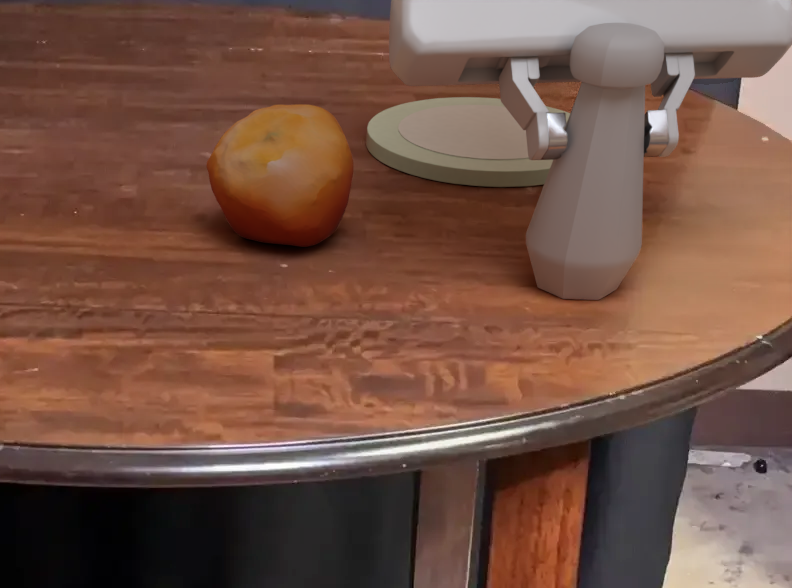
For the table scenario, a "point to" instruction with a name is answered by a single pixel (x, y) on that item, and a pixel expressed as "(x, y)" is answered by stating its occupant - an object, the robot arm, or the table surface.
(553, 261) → the salt shaker
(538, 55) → the robot arm
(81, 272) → the table surface
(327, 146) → the fruit
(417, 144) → the plate
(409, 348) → the table surface
